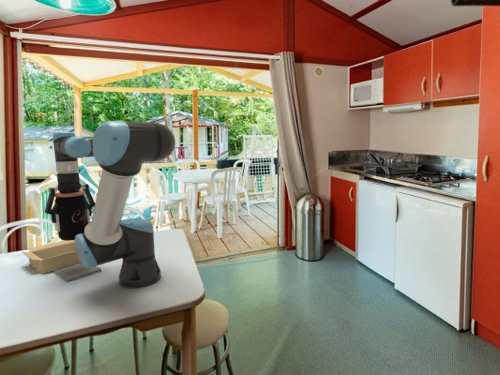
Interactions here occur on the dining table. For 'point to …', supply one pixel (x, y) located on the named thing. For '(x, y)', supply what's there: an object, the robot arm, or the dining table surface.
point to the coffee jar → (71, 214)
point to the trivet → (76, 272)
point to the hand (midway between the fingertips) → (73, 227)
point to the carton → (53, 256)
